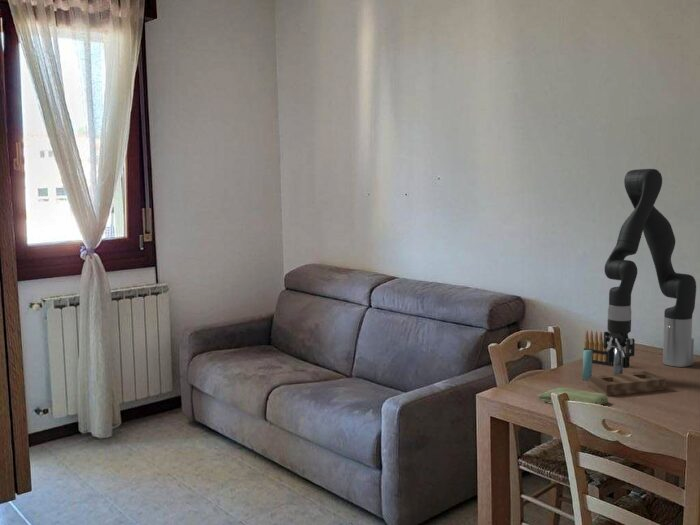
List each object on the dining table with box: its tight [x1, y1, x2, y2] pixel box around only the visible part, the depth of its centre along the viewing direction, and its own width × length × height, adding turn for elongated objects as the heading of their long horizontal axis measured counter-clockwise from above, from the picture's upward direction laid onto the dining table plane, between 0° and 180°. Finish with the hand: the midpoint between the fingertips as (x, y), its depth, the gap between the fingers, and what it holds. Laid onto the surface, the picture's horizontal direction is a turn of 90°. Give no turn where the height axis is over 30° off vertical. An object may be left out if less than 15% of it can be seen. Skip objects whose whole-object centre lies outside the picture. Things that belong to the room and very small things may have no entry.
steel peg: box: [613, 347, 624, 374], centre depth 247 cm, size 3×3×10 cm
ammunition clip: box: [583, 329, 614, 367], centre depth 265 cm, size 11×2×12 cm, turn 48°
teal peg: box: [582, 349, 593, 382], centre depth 244 cm, size 3×3×10 cm
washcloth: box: [537, 387, 609, 405], centre depth 221 cm, size 13×18×3 cm
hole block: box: [587, 370, 667, 397], centre depth 234 cm, size 22×10×4 cm, turn 105°
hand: (618, 364), depth 247 cm, fingers open, 7 cm apart
